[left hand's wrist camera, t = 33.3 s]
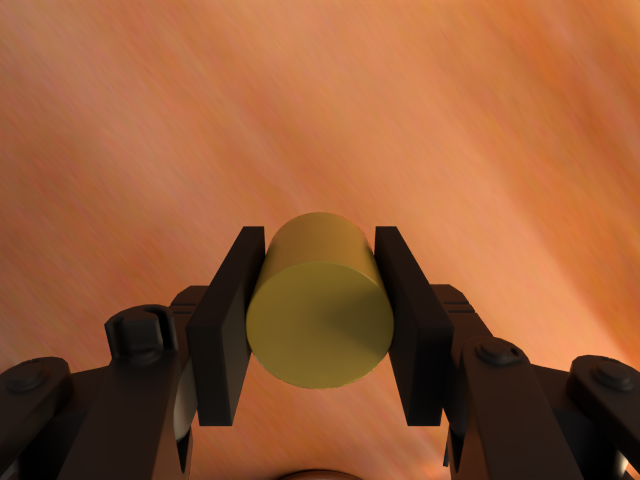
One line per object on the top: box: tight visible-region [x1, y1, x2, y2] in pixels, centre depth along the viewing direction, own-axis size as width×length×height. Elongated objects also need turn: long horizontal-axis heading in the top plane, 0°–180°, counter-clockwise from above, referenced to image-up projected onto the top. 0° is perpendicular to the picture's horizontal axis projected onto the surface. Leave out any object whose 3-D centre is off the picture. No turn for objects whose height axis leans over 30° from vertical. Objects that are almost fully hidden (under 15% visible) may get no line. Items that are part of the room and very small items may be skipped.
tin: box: [245, 212, 394, 389], centre depth 13 cm, size 4×4×5 cm
